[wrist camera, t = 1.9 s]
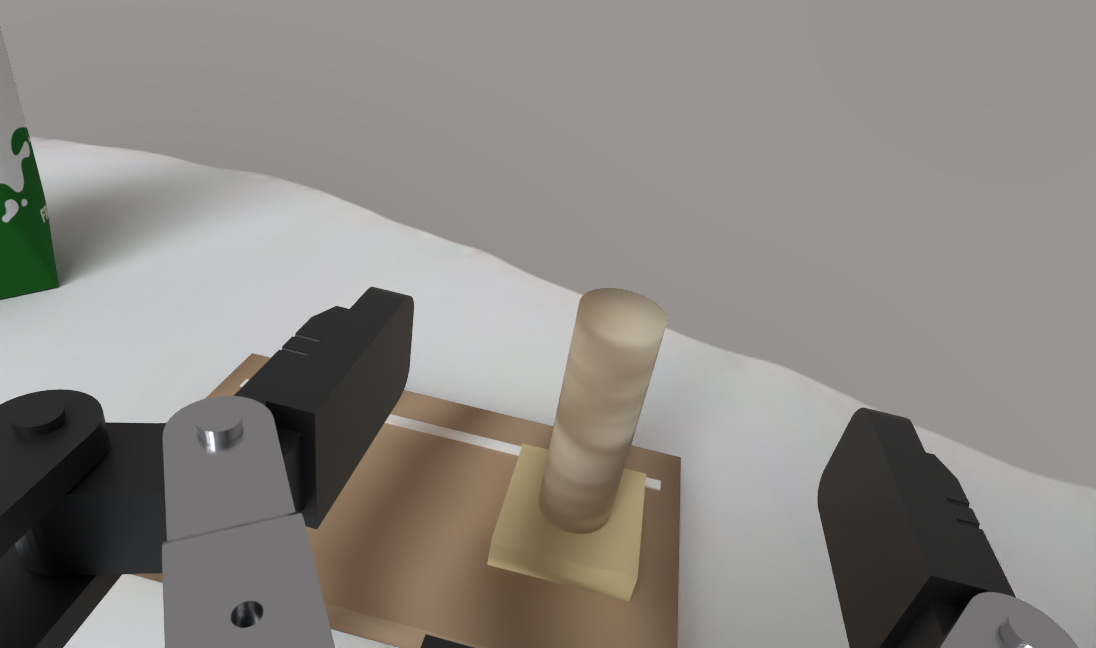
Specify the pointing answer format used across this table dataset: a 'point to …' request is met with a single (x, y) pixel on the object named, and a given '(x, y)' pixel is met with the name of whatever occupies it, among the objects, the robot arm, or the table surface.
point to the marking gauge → (587, 457)
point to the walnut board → (471, 540)
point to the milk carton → (21, 200)
